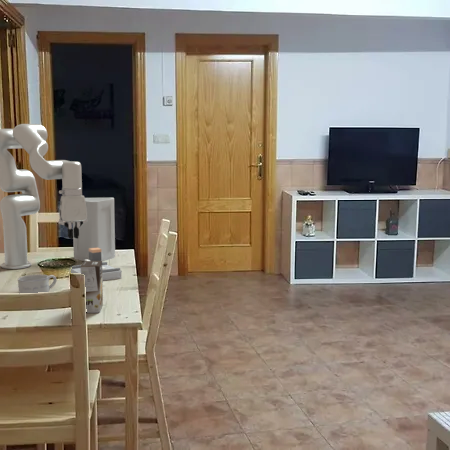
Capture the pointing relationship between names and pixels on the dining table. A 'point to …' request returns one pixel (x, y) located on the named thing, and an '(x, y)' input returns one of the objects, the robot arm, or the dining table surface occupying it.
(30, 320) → the dining table surface
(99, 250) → the plug
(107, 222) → the tall white carton
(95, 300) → the coffee box
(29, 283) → the teacup
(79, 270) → the socket
